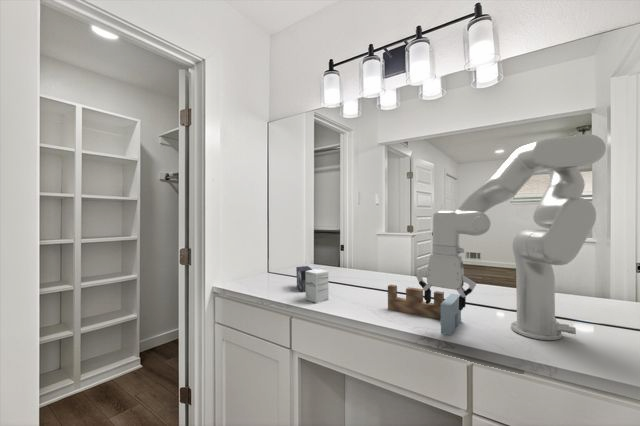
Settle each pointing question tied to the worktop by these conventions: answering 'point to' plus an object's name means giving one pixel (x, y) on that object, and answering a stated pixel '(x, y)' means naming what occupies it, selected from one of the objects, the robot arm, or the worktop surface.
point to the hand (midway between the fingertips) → (444, 305)
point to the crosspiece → (450, 314)
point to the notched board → (415, 302)
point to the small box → (302, 277)
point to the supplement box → (316, 285)
